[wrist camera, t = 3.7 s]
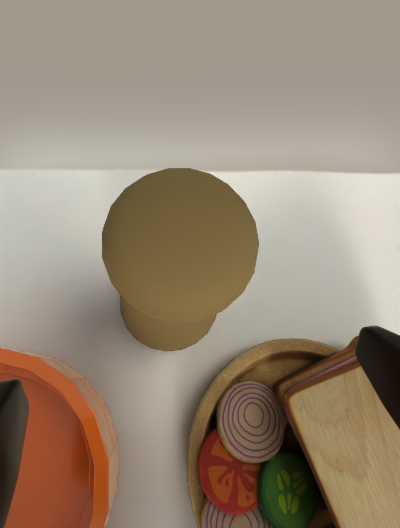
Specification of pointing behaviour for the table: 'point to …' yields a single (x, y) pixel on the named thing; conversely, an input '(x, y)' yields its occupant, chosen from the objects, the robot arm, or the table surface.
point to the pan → (61, 447)
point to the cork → (178, 254)
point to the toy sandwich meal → (294, 443)
